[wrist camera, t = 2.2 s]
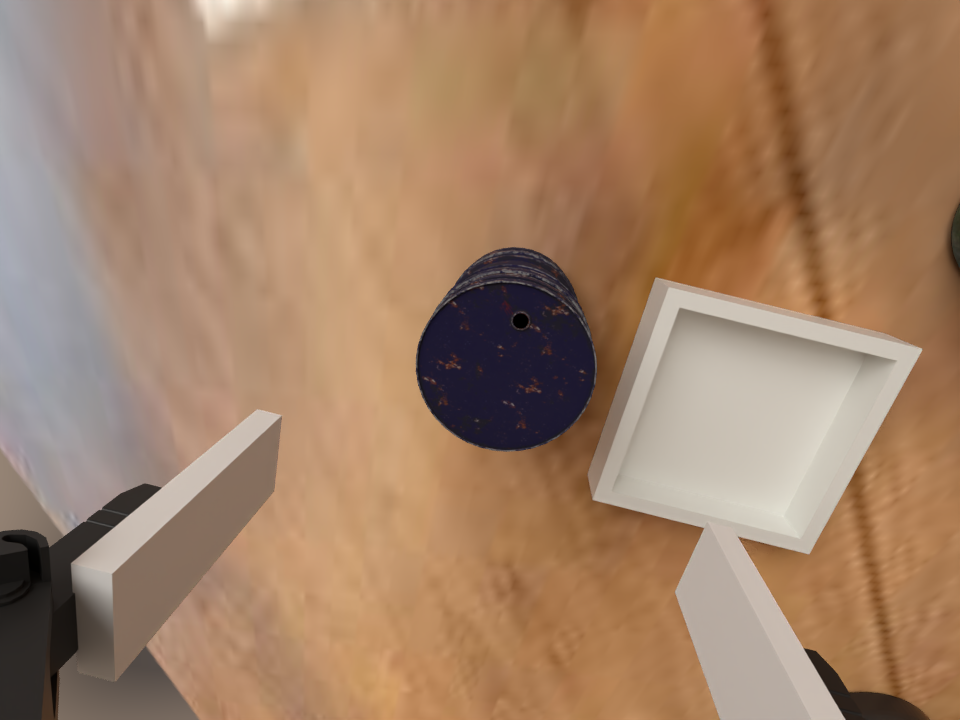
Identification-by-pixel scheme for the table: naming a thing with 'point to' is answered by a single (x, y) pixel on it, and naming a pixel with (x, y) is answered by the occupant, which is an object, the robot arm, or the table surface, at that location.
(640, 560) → the table surface
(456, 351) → the dark blue canister
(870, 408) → the tray
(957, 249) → the mug
